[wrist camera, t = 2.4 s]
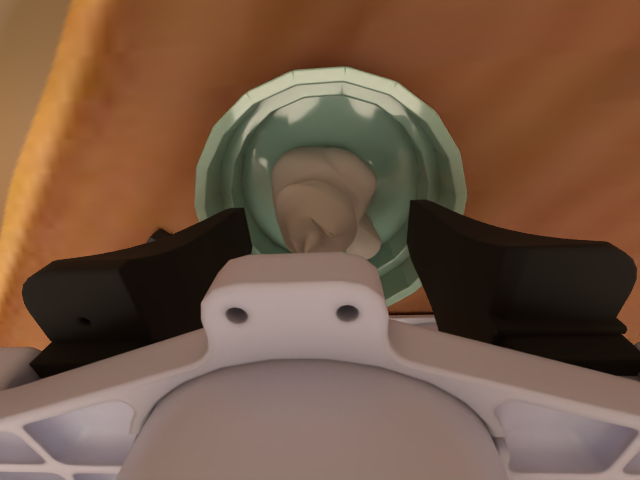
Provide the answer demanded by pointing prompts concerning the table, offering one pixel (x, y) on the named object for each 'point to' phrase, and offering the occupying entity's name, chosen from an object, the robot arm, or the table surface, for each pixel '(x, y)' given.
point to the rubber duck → (324, 201)
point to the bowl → (341, 132)
